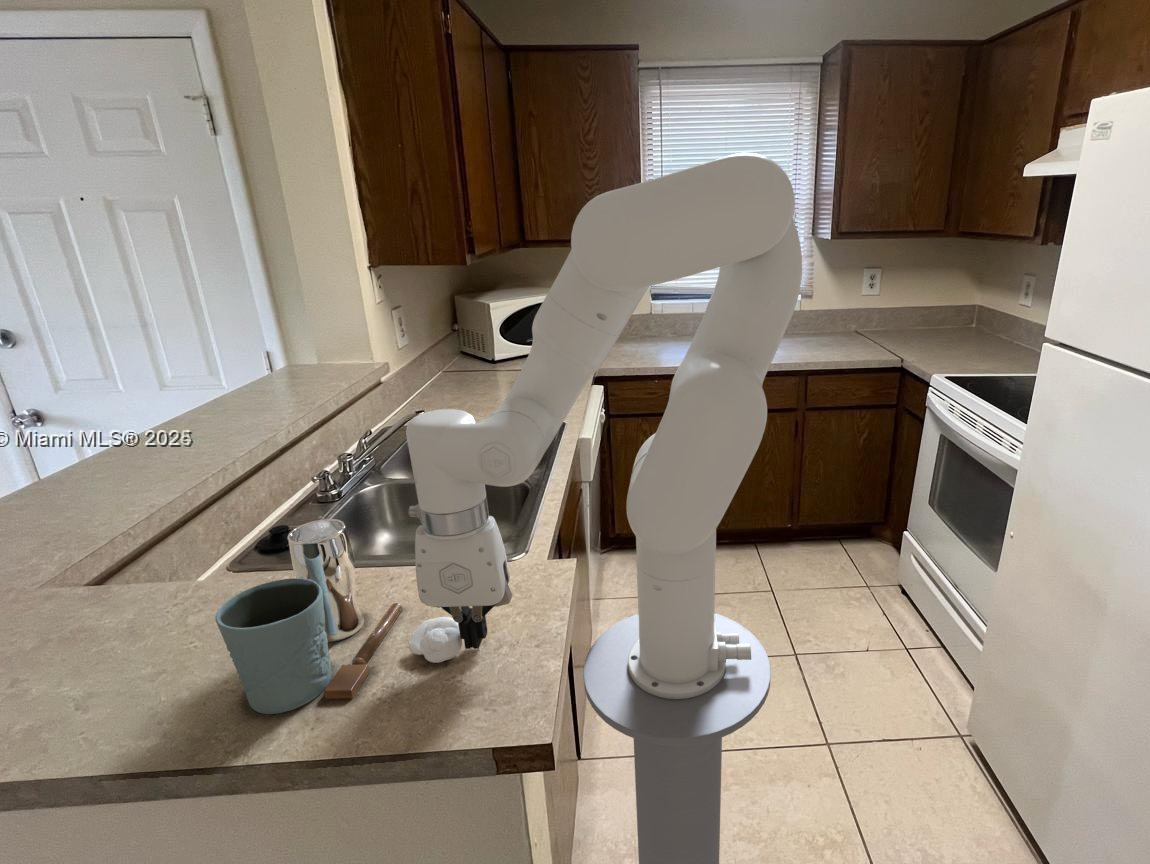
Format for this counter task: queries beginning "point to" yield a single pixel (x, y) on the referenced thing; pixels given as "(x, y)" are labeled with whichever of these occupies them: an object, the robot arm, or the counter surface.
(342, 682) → the wooden spatula
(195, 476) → the counter surface
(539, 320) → the robot arm
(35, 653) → the counter surface
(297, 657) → the teal embossed cup
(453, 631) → the dumpling
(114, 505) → the counter surface
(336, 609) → the chrome tumbler
